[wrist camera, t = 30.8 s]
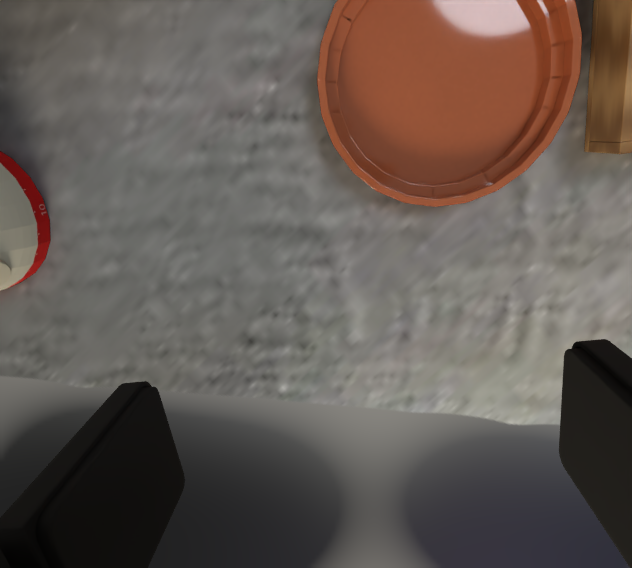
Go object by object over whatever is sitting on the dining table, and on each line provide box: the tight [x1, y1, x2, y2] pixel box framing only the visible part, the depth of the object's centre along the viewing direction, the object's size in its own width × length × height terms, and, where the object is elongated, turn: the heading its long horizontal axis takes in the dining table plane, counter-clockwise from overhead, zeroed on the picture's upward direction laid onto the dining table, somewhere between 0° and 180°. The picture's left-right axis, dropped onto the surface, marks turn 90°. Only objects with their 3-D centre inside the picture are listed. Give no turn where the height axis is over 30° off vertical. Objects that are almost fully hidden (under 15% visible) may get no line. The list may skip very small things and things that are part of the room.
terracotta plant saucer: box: [317, 0, 582, 207], centre depth 31 cm, size 18×18×3 cm
